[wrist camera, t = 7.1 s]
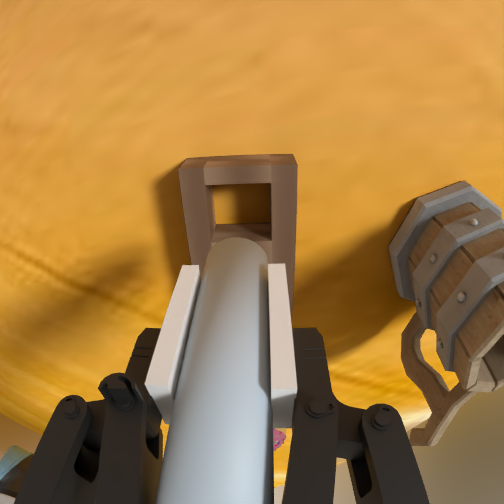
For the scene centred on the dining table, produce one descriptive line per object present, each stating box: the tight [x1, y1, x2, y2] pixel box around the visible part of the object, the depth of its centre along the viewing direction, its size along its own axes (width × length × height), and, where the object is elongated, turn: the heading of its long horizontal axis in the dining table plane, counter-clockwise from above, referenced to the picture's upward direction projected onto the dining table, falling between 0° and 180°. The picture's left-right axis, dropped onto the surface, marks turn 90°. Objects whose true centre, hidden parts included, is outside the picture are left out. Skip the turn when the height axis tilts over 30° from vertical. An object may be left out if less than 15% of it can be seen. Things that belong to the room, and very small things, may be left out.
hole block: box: [178, 154, 297, 322], centre depth 26 cm, size 8×14×3 cm, turn 2°
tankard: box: [388, 181, 504, 446], centre depth 22 cm, size 20×13×15 cm, turn 159°
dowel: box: [156, 237, 274, 504], centre depth 11 cm, size 3×3×14 cm
